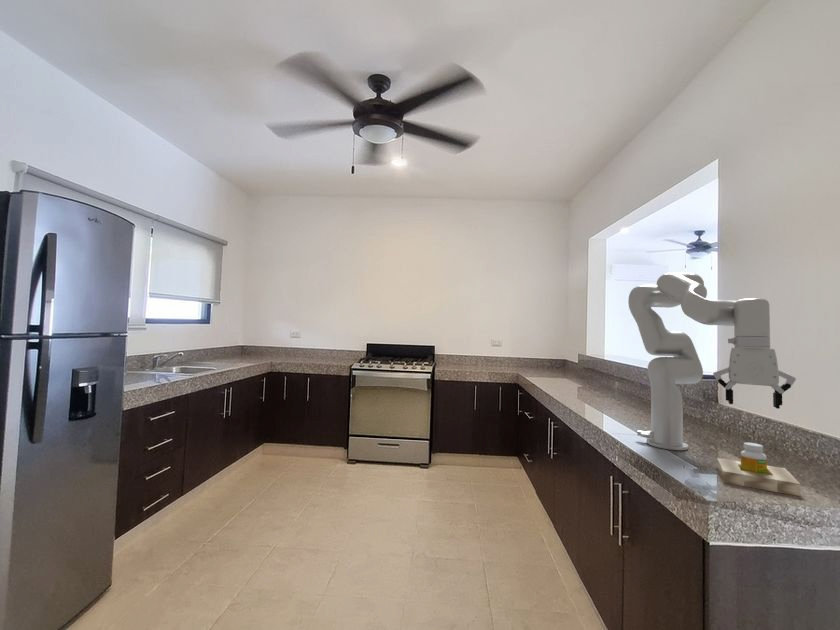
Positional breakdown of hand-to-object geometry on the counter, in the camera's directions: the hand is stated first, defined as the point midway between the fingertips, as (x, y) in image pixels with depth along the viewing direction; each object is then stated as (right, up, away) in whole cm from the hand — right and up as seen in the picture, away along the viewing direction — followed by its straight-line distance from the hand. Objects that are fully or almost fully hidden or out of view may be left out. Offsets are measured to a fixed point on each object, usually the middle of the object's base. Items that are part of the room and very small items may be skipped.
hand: (753, 405), depth 106 cm
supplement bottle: (-1, -20, -1) cm, 20 cm away
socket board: (-1, -20, -1) cm, 20 cm away
